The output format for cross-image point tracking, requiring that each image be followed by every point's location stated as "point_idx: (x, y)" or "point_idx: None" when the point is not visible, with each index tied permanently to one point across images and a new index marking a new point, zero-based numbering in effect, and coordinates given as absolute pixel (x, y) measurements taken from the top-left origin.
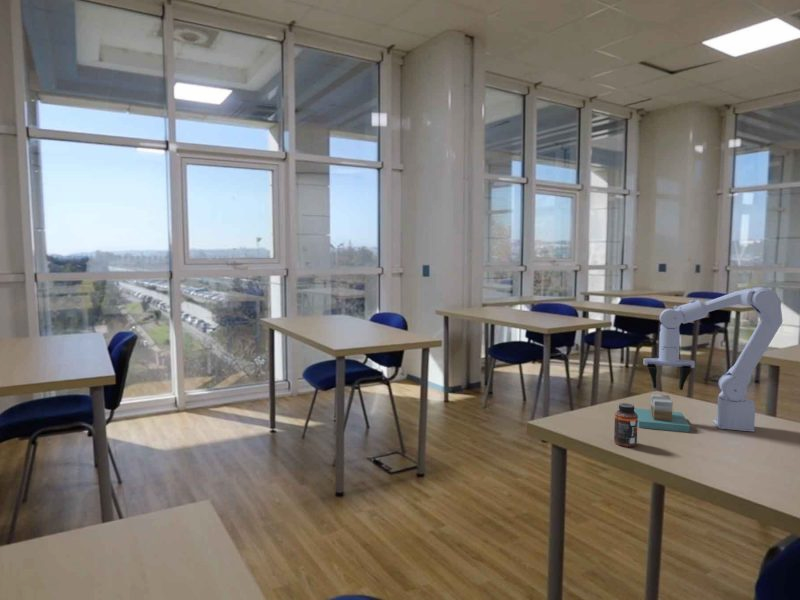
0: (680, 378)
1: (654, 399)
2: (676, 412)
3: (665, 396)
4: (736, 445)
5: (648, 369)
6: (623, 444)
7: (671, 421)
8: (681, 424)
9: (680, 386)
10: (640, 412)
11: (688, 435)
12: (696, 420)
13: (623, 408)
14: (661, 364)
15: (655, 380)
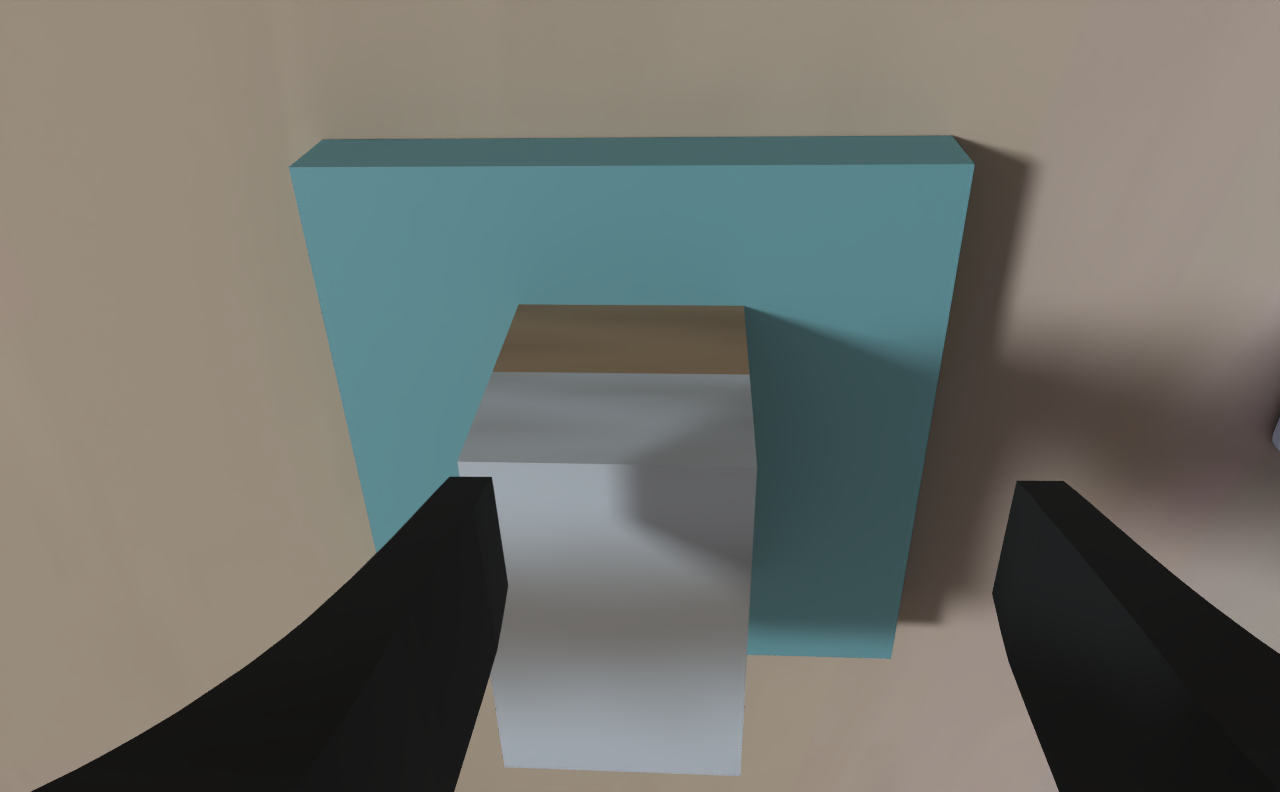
0: (1116, 708)
1: (504, 706)
2: (891, 199)
3: (691, 529)
4: None
5: (114, 759)
6: None
7: None
8: (815, 637)
9: (1011, 650)
10: (388, 352)
11: (842, 672)
12: (1144, 170)
13: None
14: None
15: (449, 757)
